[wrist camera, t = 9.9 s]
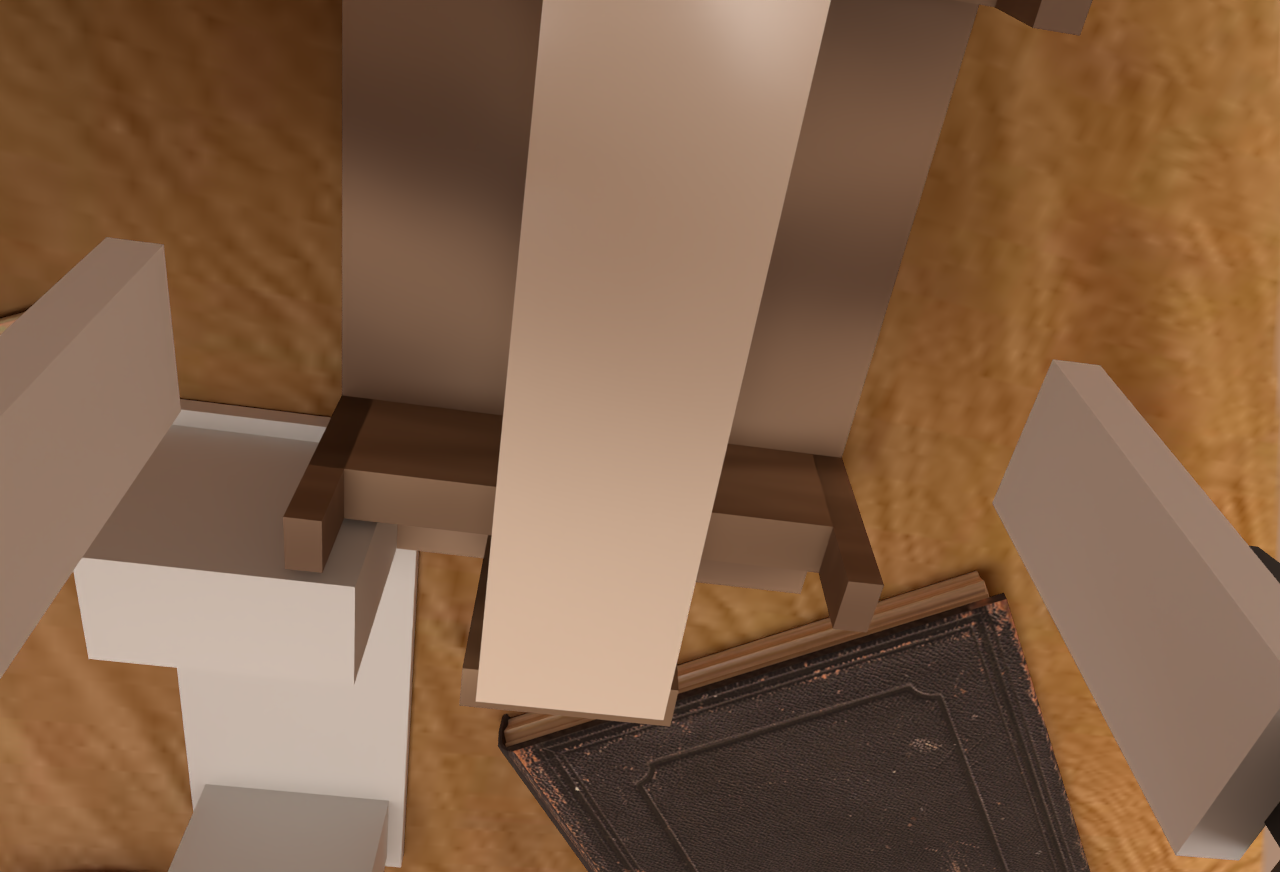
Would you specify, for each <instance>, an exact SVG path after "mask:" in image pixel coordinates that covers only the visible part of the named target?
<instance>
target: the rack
mask: <svg viewBox="0 0 1280 872" xmlns="http://www.w3.org/2000/svg"><path fill="white" fill-rule="evenodd" d="M1091 3H1092V0H831V2H830V6H829V10H828V14H827V19H826V23H825V27H824V32H823V36H822V40H821V45H820V49H819V53H818V57H817V62H816V66H815V70H814V75H813V79H812V83H811V88H810V92H809V96H808V100H807V105H806V109H805V113H804V118H803V122H802V126H801V131H800V135H799V139H798V143H797V148H796V152H795V156H794V161H793V165H792V169H791V174H790V178H789V182H788V187H787V191H786V195H785V199H784V204H783V208H782V212H781V217H780V221H779V225H778V230H777V234H776V238H775V242H774V247H773V251H772V255H771V260H770V264H769V268H768V273H767V277H766V281H765V285H764V290H763V294H762V298H761V303H760V307H759V311H758V316H757V320H756V324H755V328H754V333H753V337H752V341H751V346H750V350H749V354H748V359H747V363H746V367H745V371H744V376H743V380H742V384H741V389H740V393H739V397H738V402H737V406H736V410H735V414H734V419H733V423H732V427H731V432H730V436H729V440H728V445H727V449H726V453H725V457H724V462H723V466H722V470H721V475H720V479H719V483H718V488H717V492H716V496H715V501H714V505H713V509H712V513H711V518H710V522H709V526H708V531H707V535H706V539H705V544H704V548H703V552H702V556H701V561H700V565H699V569H698V574H697V578H696V582H700V583H709V584H718V585H727V586H736V587H744V588H753V589H762V590H771V591H780V592H789V593H798V594H800V593H801V590H802V587H803V583H804V580H805V577H806V574H807V571H808V572H817V573H819V576H820V580H821V584H822V588H823V592H824V596H825V600H826V604H827V608H828V612H829V616H830V620H831V624H832V628H833V629H839V630H848V631H857V632H866V633H867V631H868V628H869V626H870V623H871V620H872V617H873V614H874V612H875V609H876V606H877V603H878V600H879V598H880V595H881V592H882V589H883V586H884V584H883V581H882V578H881V575H880V572H879V569H878V566H877V563H876V560H875V557H874V554H873V551H872V548H871V545H870V542H869V539H868V536H867V533H866V530H865V527H864V524H863V521H862V518H861V515H860V512H859V509H858V506H857V503H856V500H855V497H854V494H853V490H852V487H851V484H850V481H849V478H848V475H847V472H846V469H845V466H844V463H843V460H842V455H843V452H844V448H845V445H846V442H847V439H848V435H849V432H850V429H851V425H852V422H853V419H854V415H855V412H856V409H857V406H858V402H859V399H860V396H861V392H862V389H863V386H864V383H865V379H866V376H867V373H868V369H869V366H870V363H871V359H872V356H873V353H874V350H875V346H876V343H877V340H878V336H879V333H880V330H881V327H882V323H883V320H884V317H885V313H886V310H887V307H888V303H889V300H890V297H891V294H892V290H893V287H894V284H895V280H896V277H897V274H898V271H899V267H900V264H901V261H902V257H903V254H904V251H905V247H906V244H907V241H908V238H909V234H910V231H911V228H912V224H913V221H914V218H915V215H916V211H917V208H918V205H919V201H920V198H921V195H922V191H923V188H924V185H925V182H926V178H927V175H928V172H929V168H930V165H931V162H932V159H933V155H934V152H935V149H936V145H937V142H938V139H939V135H940V132H941V129H942V126H943V122H944V119H945V116H946V112H947V109H948V106H949V103H950V99H951V96H952V93H953V89H954V86H955V83H956V79H957V76H958V73H959V70H960V66H961V63H962V60H963V56H964V53H965V50H966V47H967V43H968V40H969V37H970V33H971V30H972V27H973V23H974V20H975V17H976V14H977V10H978V7H979V5H985V6H991V7H995V8H997V9H999V10H1001V11H1003V12H1005V13H1006V14H1008V15H1010V16H1012V17H1014V18H1016V19H1018V20H1019V21H1021V22H1023V23H1025V24H1027V25H1029V26H1030V27H1032V28H1037V29H1043V30H1049V31H1055V32H1061V33H1067V34H1073V35H1079V36H1080V34H1081V31H1082V28H1083V26H1084V23H1085V20H1086V17H1087V14H1088V12H1089V9H1090V6H1091ZM542 5H543V0H342V396H341V398H340V400H339V402H338V405H337V407H336V409H335V411H334V413H333V415H332V417H331V419H330V421H329V423H328V425H327V427H326V429H325V431H324V433H323V435H322V437H321V440H320V442H319V444H318V446H317V448H316V450H315V452H314V454H313V456H312V458H311V460H310V462H309V464H308V466H307V468H306V470H305V473H304V475H303V477H302V479H301V481H300V483H299V485H298V487H297V489H296V491H295V493H294V495H293V497H292V499H291V501H290V503H289V506H288V508H287V510H286V512H285V514H284V516H283V532H284V559H285V569H291V570H300V571H309V572H318V573H323V570H324V568H325V565H326V563H327V560H328V558H329V555H330V553H331V550H332V548H333V545H334V543H335V540H336V538H337V535H338V533H339V530H340V527H341V525H342V522H343V520H344V518H345V519H353V520H362V521H371V522H380V523H388V524H397V549H406V550H415V551H424V552H433V553H442V554H451V555H460V556H468V557H477V558H484V559H483V564H482V569H481V574H480V580H479V585H478V590H477V595H476V600H475V606H474V611H473V616H472V621H471V627H470V632H469V637H468V642H467V648H466V653H465V658H464V663H463V669H462V681H461V692H460V704H459V706H469V707H479V708H489V709H499V710H509V711H519V712H529V713H539V714H549V715H559V716H569V717H579V718H589V719H600V720H610V721H620V722H630V723H640V724H650V725H660V726H670V725H671V721H672V716H673V712H674V708H675V704H676V700H677V695H678V691H679V688H678V671H677V664H676V668H675V673H674V677H673V681H672V685H671V690H670V694H669V698H668V703H667V707H666V711H665V716H664V720H656V719H646V718H636V717H626V716H616V715H606V714H596V713H586V712H576V711H566V710H556V709H546V708H536V707H526V706H516V705H506V704H496V703H486V702H476V693H477V683H478V672H479V662H480V651H481V641H482V631H483V620H484V610H485V599H486V589H487V579H488V568H489V558H490V547H491V537H492V526H493V516H494V506H495V495H496V485H497V474H498V464H499V453H500V443H501V433H502V422H503V412H504V401H505V391H506V381H507V370H508V360H509V349H510V339H511V328H512V318H513V308H514V297H515V287H516V276H517V266H518V256H519V245H520V235H521V224H522V214H523V203H524V193H525V183H526V172H527V162H528V151H529V141H530V130H531V120H532V110H533V99H534V89H535V78H536V68H537V58H538V47H539V37H540V26H541V16H542Z"/></svg>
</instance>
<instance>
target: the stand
mask: <svg viewBox="0 0 1280 872" xmlns="http://www.w3.org/2000/svg"><path fill="white" fill-rule="evenodd" d="M180 406H181V412H180V413H179V415H178V416H177V418H176V419H175V421H174V422H173V424H172V425H171V427H170V428H169V430H168V431H167V433H166V434H165V436H164V437H163V439H162V440H161V441H160V443H159V444H158V446H157V447H156V449H155V450H154V452H153V453H152V455H151V456H150V458H149V459H148V461H147V462H146V464H145V465H144V467H143V468H142V470H141V471H140V473H139V474H138V476H137V477H136V479H135V480H134V481H133V483H132V484H131V486H130V487H129V489H128V490H127V492H126V493H125V495H124V496H123V498H122V499H121V501H120V502H119V504H118V505H117V507H116V508H115V510H114V511H113V513H112V514H111V516H110V517H109V519H108V520H107V521H106V523H105V524H104V526H103V527H102V529H101V530H100V532H99V533H98V535H97V536H96V538H95V539H94V541H93V542H92V544H91V545H90V547H89V548H88V550H87V551H86V553H85V554H84V556H83V557H82V558H81V560H80V561H79V563H78V564H77V566H76V567H75V569H74V570H73V571H74V577H75V582H76V588H77V594H78V600H79V606H80V611H81V617H82V623H83V629H84V634H85V640H86V646H87V652H88V657H89V659H96V660H106V661H116V662H126V663H136V664H146V665H156V666H166V667H176V668H177V672H178V681H179V690H180V698H181V707H182V716H183V725H184V734H185V742H186V751H187V760H188V769H189V778H190V786H191V795H192V804H193V815H192V817H191V819H190V821H189V824H188V826H187V828H186V831H185V833H184V835H183V838H182V840H181V842H180V845H179V847H178V849H177V852H176V854H175V856H174V859H173V861H172V863H171V866H170V868H169V870H168V872H384V868H385V866H391V867H401V865H402V860H403V855H404V836H405V816H406V796H407V776H408V757H409V737H410V717H411V697H412V677H413V657H414V637H415V617H416V597H417V577H418V558H419V551H415V550H406V549H397V524H388V523H380V522H371V521H362V520H353V519H345V518H344V520H343V522H342V525H341V527H340V530H339V533H338V535H337V538H336V540H335V543H334V545H333V548H332V550H331V553H330V555H329V558H328V560H327V563H326V565H325V568H324V570H323V573H318V572H309V571H300V570H291V569H285V559H284V532H283V516H284V514H285V512H286V510H287V508H288V506H289V503H290V501H291V499H292V497H293V495H294V493H295V491H296V489H297V487H298V485H299V483H300V481H301V479H302V477H303V475H304V473H305V470H306V468H307V466H308V464H309V462H310V460H311V458H312V456H313V454H314V452H315V450H316V448H317V446H318V444H319V442H320V440H321V437H322V435H323V433H324V431H325V429H326V427H327V425H328V423H329V421H330V419H331V417H323V416H315V415H307V414H299V413H291V412H283V411H274V410H266V409H258V408H250V407H242V406H234V405H226V404H217V403H209V402H201V401H193V400H185V399H180Z"/></svg>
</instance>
